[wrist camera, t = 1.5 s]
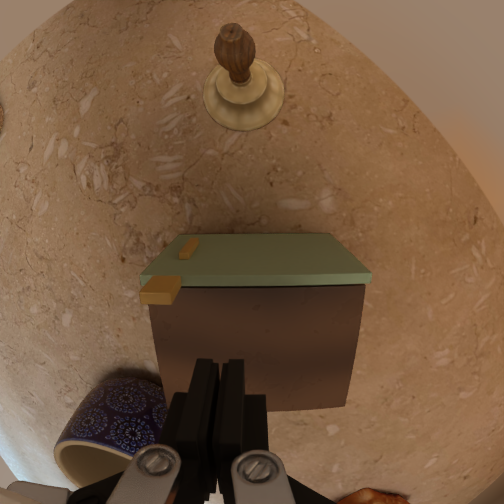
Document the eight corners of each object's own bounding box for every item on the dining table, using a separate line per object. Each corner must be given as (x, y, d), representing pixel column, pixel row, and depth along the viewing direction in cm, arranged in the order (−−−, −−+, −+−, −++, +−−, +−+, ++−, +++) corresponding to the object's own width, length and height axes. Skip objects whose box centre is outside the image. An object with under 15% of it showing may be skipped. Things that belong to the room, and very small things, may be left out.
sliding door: (178, 228, 33) (121, 282, 18) (330, 227, 33) (390, 279, 18) (179, 241, 33) (125, 303, 18) (329, 240, 33) (387, 301, 18)
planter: (78, 360, 38) (28, 428, 24) (186, 360, 38) (159, 449, 23) (116, 438, 42) (89, 504, 28) (210, 443, 42) (201, 521, 28)
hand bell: (217, 142, 31) (185, 121, 15) (193, 71, 29) (147, 4, 13) (295, 118, 30) (334, 77, 15) (269, 48, 28) (282, -35, 12)
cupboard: (180, 245, 34) (145, 287, 22) (328, 244, 34) (365, 285, 22) (188, 342, 37) (167, 408, 25) (321, 340, 37) (344, 406, 25)
